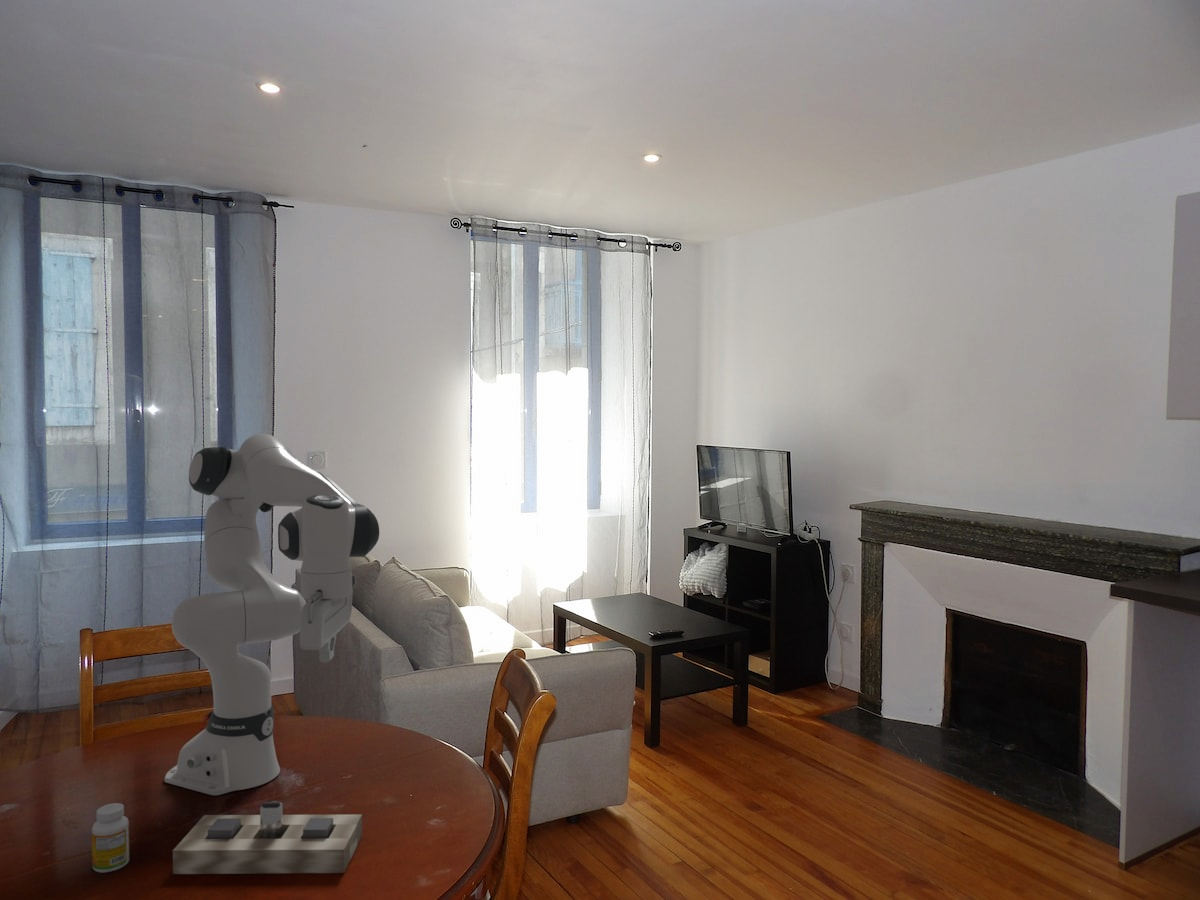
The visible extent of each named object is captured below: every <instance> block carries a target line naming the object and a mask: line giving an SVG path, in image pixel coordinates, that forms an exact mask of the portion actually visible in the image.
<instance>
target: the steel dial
mask: <svg viewBox="0 0 1200 900" xmlns="http://www.w3.org/2000/svg"><path fill="white" fill-rule="evenodd" d="M283 805H284V804H283V803H282V802H281V801H275V800H274V801H263V803H262V805H260V808H259V811H260V813H259V815H260V837H261V838H262V839H276V838H278V837H280V836H281V835H282V834H283V815H284V814H283V811H284V809H283Z"/></svg>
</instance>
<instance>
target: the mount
mask: <svg viewBox="0 0 1200 900" xmlns="http://www.w3.org/2000/svg"><path fill="white" fill-rule="evenodd" d="M310 818H333V831H332V833H331V835H330V837H329V838H325V839H303V829H304V827H305V826H306V824H307V823H308V821H309V819H310ZM217 819H241V830H240V831H239V832H238V833H237V835H236V836H235V837H234V839H208V829H209V828H210V827H211V826H212V825H213V823H214V822H215V821H216V820H217ZM362 837H363V814H355V813H354V814H283V834H282V835H281V836H280V837H278V838H276V839H262V838H261V837H260V814H205V815H203V816H202V817H201V818H200V819H199V820H198V821H197V822H196V824H195V825H194V826H193V827H192V828H191V829H190V831H189V832H188V833H187V834H186V835H185V836H184V837H183V838H182V839H181V841H180V842H178V844H176V846H175V847H174V849H172V874H173V875H203V874H204V875H209V874H210V875H214V874H215V875H216V874H217V875H224V874H225V875H228V874H229V875H231V874H232V875H234V874H235V875H236V874H243V875H246V874H251V875H252V874H256V875H257V874H345V873H346V870H347V868H348V867H349V863H350V862H351V861H352V857H353V856H354V854H355V851H356V849H357V847H358V845H359V843H360V841H361V840H362Z"/></svg>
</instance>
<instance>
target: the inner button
mask: <svg viewBox="0 0 1200 900" xmlns="http://www.w3.org/2000/svg"><path fill="white" fill-rule="evenodd" d="M240 830H241V819H217V820H216V821H215V822H214V823H213V825H212V826H211V827H210V828H209V829H208V839H234V837H235V836H236V835H237V833H238V832H239V831H240Z"/></svg>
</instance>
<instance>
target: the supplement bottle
mask: <svg viewBox="0 0 1200 900" xmlns="http://www.w3.org/2000/svg"><path fill="white" fill-rule="evenodd" d="M91 854H92V856H91V857H92V858H91V860H92V869H93V870H94V871H95V872H97V873H103V874H104V873H110V872H113V871H117V870H120V869H122V868H123V867H125V866H126V865H127V864H129V862H130V822H129V819H128V817H127V816H125V806H124V804H122V803H120V802H113V803H108V804H105V805H102V806H101V807H98V809H97V810H96V821H95V822H94V824H92V827H91Z"/></svg>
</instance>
